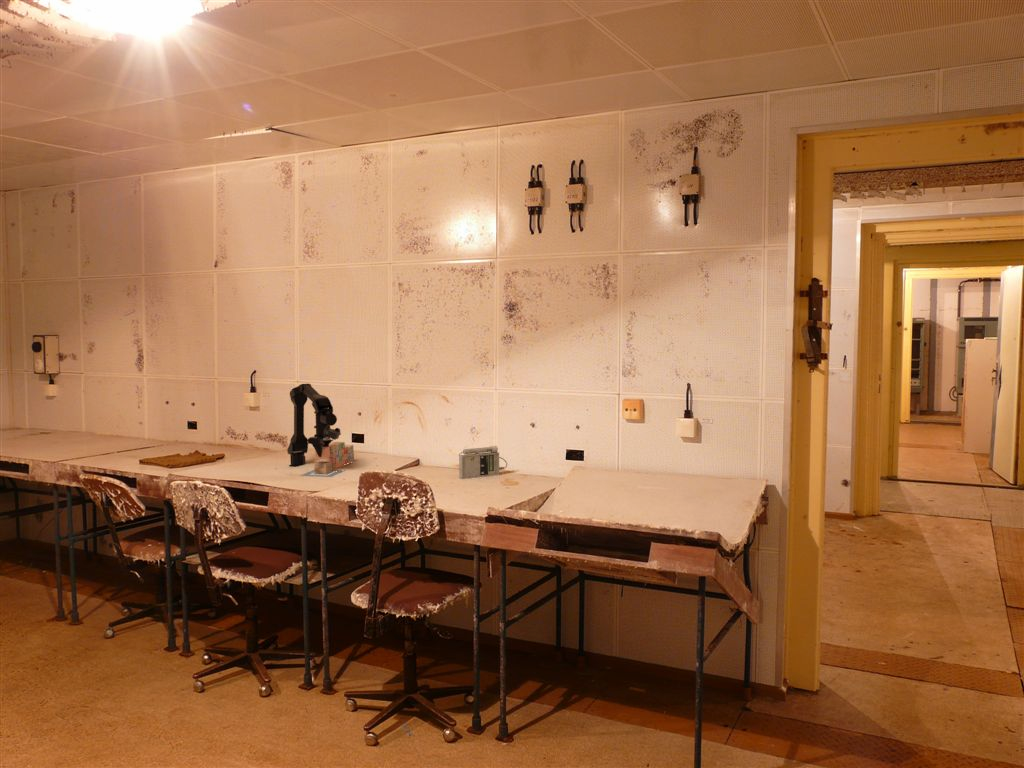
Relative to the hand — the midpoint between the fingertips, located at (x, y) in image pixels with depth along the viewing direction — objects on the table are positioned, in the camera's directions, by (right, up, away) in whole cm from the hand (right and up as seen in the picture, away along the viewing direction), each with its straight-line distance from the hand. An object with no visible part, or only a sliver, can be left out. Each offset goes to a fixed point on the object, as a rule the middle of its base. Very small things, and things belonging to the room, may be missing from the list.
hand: (322, 455), depth 378 cm
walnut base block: (0, -8, +1) cm, 8 cm away
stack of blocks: (+3, -7, +21) cm, 23 cm away
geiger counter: (+77, -9, -5) cm, 78 cm away
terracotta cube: (0, -1, 0) cm, 1 cm away
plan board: (0, -9, +1) cm, 9 cm away
